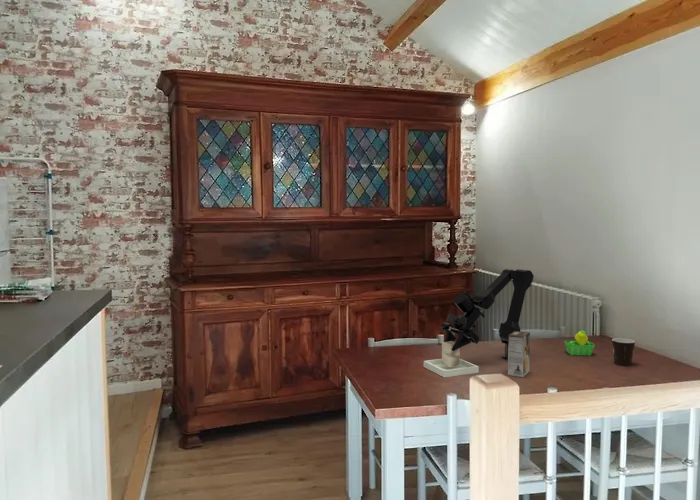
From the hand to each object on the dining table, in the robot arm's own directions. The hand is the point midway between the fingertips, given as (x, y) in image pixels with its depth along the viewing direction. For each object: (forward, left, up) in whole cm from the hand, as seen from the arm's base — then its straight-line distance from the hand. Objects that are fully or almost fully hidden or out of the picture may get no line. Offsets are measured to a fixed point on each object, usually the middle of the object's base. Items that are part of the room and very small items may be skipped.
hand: (448, 349), depth 223 cm
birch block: (0, -1, -7) cm, 7 cm away
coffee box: (-15, -23, -9) cm, 29 cm away
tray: (0, -1, -9) cm, 9 cm away
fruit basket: (-2, -67, -9) cm, 68 cm away
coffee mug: (-22, -70, -9) cm, 74 cm away
